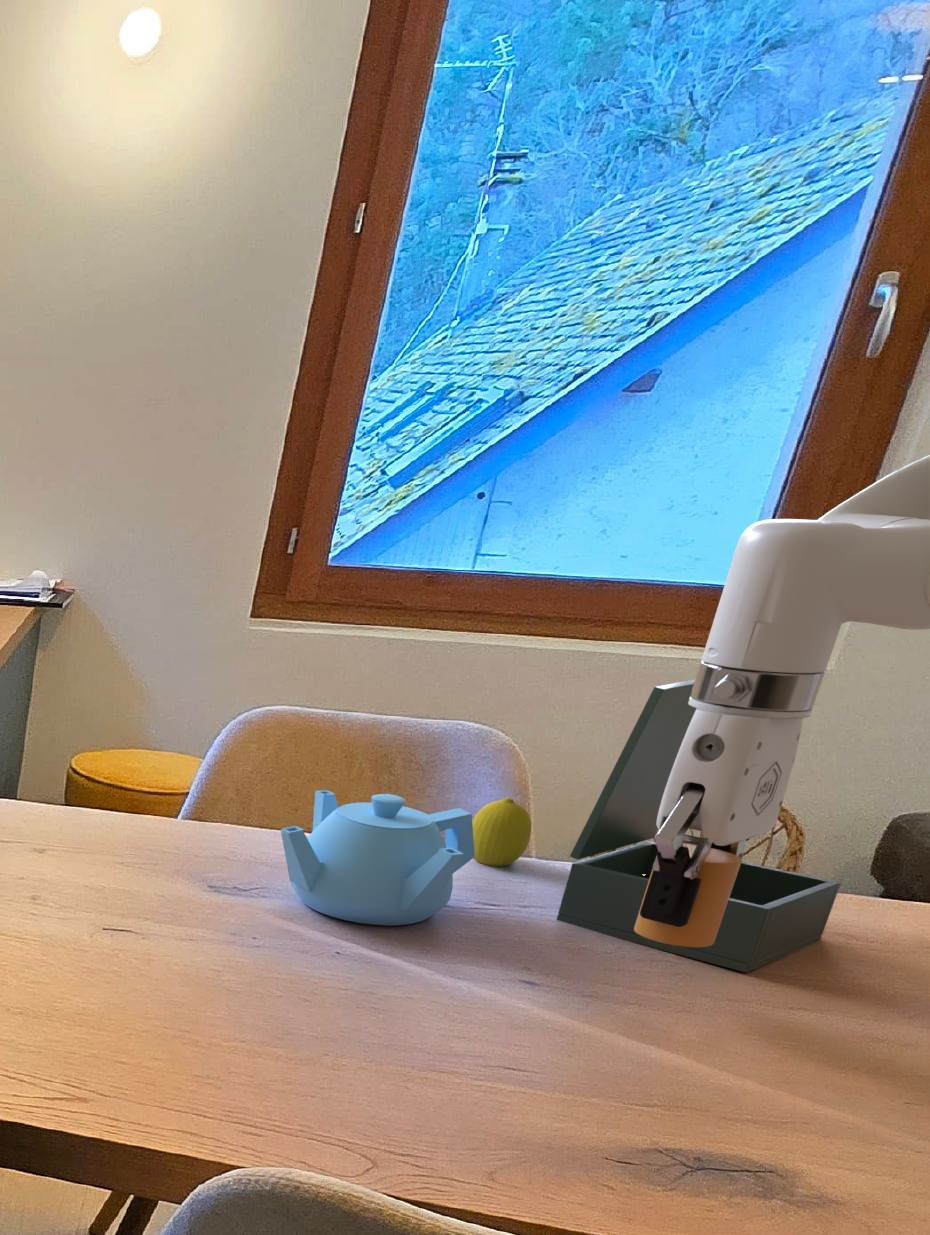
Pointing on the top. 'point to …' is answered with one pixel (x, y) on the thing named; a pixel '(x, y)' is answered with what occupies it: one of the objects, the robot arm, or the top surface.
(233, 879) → the top surface
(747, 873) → the grey hinged box
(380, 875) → the teapot
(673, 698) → the lid
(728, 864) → the orange cylinder
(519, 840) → the lemon
